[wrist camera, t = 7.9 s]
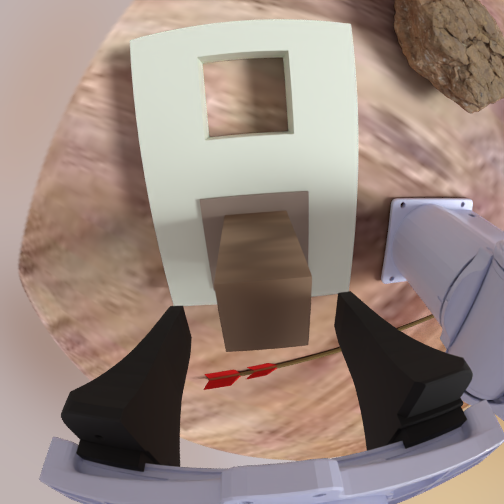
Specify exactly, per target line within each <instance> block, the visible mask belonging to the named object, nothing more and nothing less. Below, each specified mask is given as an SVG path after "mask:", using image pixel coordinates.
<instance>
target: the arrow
mask: <svg viewBox="0 0 504 504" xmlns="http://www.w3.org/2000/svg"><path fill="white" fill-rule="evenodd" d="M431 318H434V316H433V314H432V315H430V316H427V317H425V318H422V319H420V320H417V321H415V322H412V323H410V324H407V325H405V326H402V327H399V328H397V329H398V330H399V331H401V330H404V329H407V328H409V327H412V326H414V325H417V324H419V323H422V322H424V321H427V320H429V319H431ZM340 351H341V348H336V349H333V350H330V351H326V352H323V353H319V354H316V355H312V356H308V357H304V358H301V359H297V360H293V361H289V362H285V363H281V364H277V365H276V364H270V363H266V364H262V365H257V366H252V367H247V368H249V369H252V370H250V371H245V372H238V371H236V370H228V371H222V372H216V373H210V374H205V375H206V376H207V377H208V378H209V382H208V383H207V385H206V386H205V388H204V390H206V389H213V388H219V387H225V386H231V385H232V384H233V383H234V382H235V381H236V380H237V379H238V378H239V377H240V376H245V375H250V374H251V375H250V376H249V377H248V378H247V379H251V378H256V377H260V376H265V375H268V374H269V373H271V372H272V371H274V370H275V369H277V368H281V367H285V366H289V365H293V364H297V363H301V362H305V361H309V360H313V359H316V358H320V357H323V356H327V355H330V354H334V353H337V352H340Z"/></svg>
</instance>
